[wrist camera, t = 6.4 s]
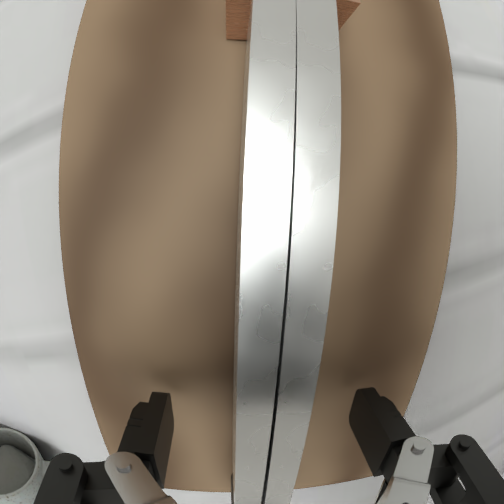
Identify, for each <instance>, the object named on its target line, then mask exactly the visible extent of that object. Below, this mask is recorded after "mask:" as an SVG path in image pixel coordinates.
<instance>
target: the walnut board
mask: <svg viewBox="0 0 504 504" xmlns="http://www.w3.org/2000/svg"><path fill="white" fill-rule="evenodd" d="M360 2H361V4H360V5H359V6H358V7H357V9H356V10H355V11H354V12H353V13H352V15H351V16H350V17H349V18H348V20H347V21H346V22H345V23H344V25H343V26H342V27H341V28H340V30H339V48H340V73H341V154H340V181H339V200H338V216H337V229H336V242H335V253H334V263H333V273H332V283H331V291H330V300H329V308H328V315H327V323H326V330H325V337H324V344H323V350H322V356H321V363H320V369H319V375H318V380H317V386H316V391H315V397H314V402H313V407H312V412H311V417H310V422H309V427H308V431H307V436H306V441H305V445H304V449H303V454H302V458H301V462H300V466H299V470H298V474H297V478H296V482H295V486H294V489H300V488H309V487H316V486H323V485H329V484H335V483H341V482H346V481H351V480H356V479H361V478H365V477H370V476H373V474H372V472H371V470H370V468H369V465H368V463H367V461H366V459H365V457H364V455H363V453H362V451H361V448H360V446H359V444H358V442H357V440H356V438H355V436H354V434H353V431H352V429H351V427H350V424H349V413H350V409H351V406H352V403H353V399H354V396H355V392H356V390H357V389H362V388H369V387H374V388H375V389H376V391H377V392H378V394H379V395H380V397H381V396H385V397H386V398H388V399H389V400H391V401H392V402H393V403H394V405H395V406H396V408H397V410H398V411H399V412H400V413H401V416H404V414H405V411H406V409H407V406H408V404H409V401H410V398H411V396H412V393H413V390H414V388H415V385H416V382H417V379H418V376H419V373H420V370H421V367H422V364H423V361H424V358H425V355H426V352H427V348H428V345H429V341H430V338H431V334H432V331H433V327H434V323H435V319H436V315H437V311H438V307H439V302H440V298H441V293H442V288H443V284H444V278H445V273H446V267H447V262H448V255H449V249H450V242H451V234H452V226H453V216H454V205H455V192H456V171H457V127H456V107H455V94H454V83H453V74H452V66H451V59H450V53H449V46H448V41H447V35H446V30H445V25H444V21H443V16H442V12H441V8H440V4H439V0H360ZM245 55H246V40H235V39H226V0H87V1H86V4H85V8H84V11H83V14H82V18H81V22H80V25H79V29H78V33H77V37H76V42H75V46H74V50H73V55H72V60H71V65H70V70H69V76H68V82H67V88H66V95H65V103H64V111H63V120H62V131H61V144H60V162H59V218H60V237H61V250H62V261H63V271H64V279H65V287H66V294H67V301H68V307H69V313H70V319H71V324H72V329H73V334H74V339H75V344H76V348H77V353H78V357H79V361H80V365H81V369H82V373H83V377H84V380H85V384H86V388H87V391H88V394H89V398H90V401H91V404H92V407H93V410H94V414H95V417H96V420H97V422H98V425H99V428H100V431H101V434H102V436H103V439H104V442H105V444H106V447H107V449H108V452H109V454H110V455H112V454H114V453H116V452H117V450H118V448H119V445H120V442H121V439H122V436H123V434H124V431H125V428H126V426H127V422H128V420H129V417H130V414H131V412H132V409H133V408H134V407H135V406H136V405H137V404H138V403H139V402H149V399H150V396H151V393H152V392H164V393H170V395H171V402H172V409H173V416H174V432H173V438H172V443H171V449H170V454H169V460H168V466H167V472H166V478H165V484H164V488H167V489H177V490H189V491H205V492H231V502H232V504H234V491H233V464H232V453H233V373H234V326H235V288H236V255H237V226H238V200H239V175H240V152H241V131H242V110H243V91H244V73H245Z"/></svg>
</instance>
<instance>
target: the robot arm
mask: <svg viewBox="0 0 504 504" xmlns="http://www.w3.org/2000/svg"><path fill="white" fill-rule="evenodd" d="M349 424H350V427H351V429H352V431H353V434H354V436H355V438H356V440H357V442H358V444H359V446H360V448H361V451H362V453H363V455H364V457H365V459H366V461H367V463H368V465H369V468H370V470H371V472H372V474H373V476H374V477H376V476H380V475H384V477H385V479H384V481H383V483H382V485H381V488H380V490H379V492H378V495H377V497H376V500H375V502H374V504H427V500H428V496H429V493H430V495H431V497H432V499H433V501H434V503H435V504H504V480H503V478H502V477H501V476H500V474H499V473H498V471H497V470H496V468H495V467H494V466H493V464H492V463H491V461H490V460H489V459H488V457H487V456H486V454H485V453H484V452H483V450H482V449H481V448H480V446H479V445H478V444H477V442H476V441H475V440H474V439H473V438H472V437H470V436H468V435H457V436H455V437H453V438H452V440H451V441H450V443H449V444H441V445H433V444H432V443H431V442H430V441H429V440H428V439H426V438H424V437H419V436H416V435H415V434H414V432H413V431H412V429H411V428H410V426H409V425H408V424H407V422H406V421H405V419H404V418H403V416H401V413H400V412H399V411H398V410H397V408H396V406H395V405H394V403H393V402H392V401H391V400H389V399H388V398H386V397H385V396H381V397H380V395H379V394H378V392H377V391H376V389H375V388H374V387H369V388H362V389H357V390H356V392H355V396H354V399H353V403H352V406H351V409H350V413H349ZM173 432H174V416H173V409H172V402H171V395H170V393H164V392H152V393H151V396H150V399H149V402H139V403H138V404H137V405H136V406H135V407H134V408H133V409H132V412H131V414H130V417H129V420H128V422H127V426H126V428H125V431H124V434H123V436H122V439H121V442H120V445H119V448H118V450H117V452H116V453H114V454H112V455H110V456H109V457H108V458H107V459H106V461H102V462H85V463H83V462H82V461H81V459H80V458H79V457H77V456H76V455H74V454H70V453H62V454H59V455H56V456H55V457H54V458H52V460H51V461H50V463H49V466H48V468H47V470H46V473H45V475H44V478H43V480H42V483H41V485H40V488H39V490H38V493H37V495H36V498H35V500H34V503H33V504H177V503H176V501H175V500H174V499H173V498H172V497H171V496H167V495H166V494H165V493H164V492H163V490H162V489H164V484H165V478H166V472H167V466H168V460H169V454H170V449H171V443H172V438H173ZM458 477H459V478H460V480H461V481H462V483H463V485H464V486H465V489H466V492H465V490H464V489H463V487H462V485H461V484H460V482H459V480H458Z"/></svg>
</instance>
